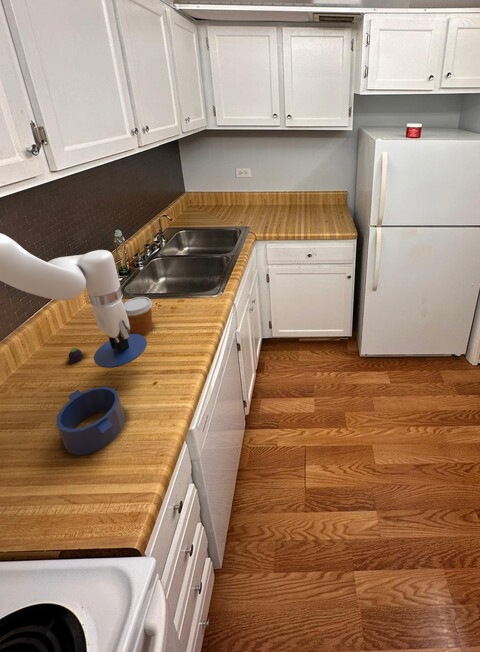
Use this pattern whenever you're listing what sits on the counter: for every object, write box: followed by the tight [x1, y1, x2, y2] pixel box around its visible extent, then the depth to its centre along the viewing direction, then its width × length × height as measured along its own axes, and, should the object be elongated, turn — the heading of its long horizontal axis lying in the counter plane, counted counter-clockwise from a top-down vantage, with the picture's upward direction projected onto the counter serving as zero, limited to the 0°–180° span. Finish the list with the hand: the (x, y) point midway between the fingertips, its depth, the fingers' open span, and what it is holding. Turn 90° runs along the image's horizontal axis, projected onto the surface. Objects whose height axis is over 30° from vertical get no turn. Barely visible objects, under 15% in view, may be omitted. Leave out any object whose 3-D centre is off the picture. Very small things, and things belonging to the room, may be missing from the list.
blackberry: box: [68, 347, 84, 364], centre depth 105 cm, size 3×3×5 cm
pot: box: [55, 386, 126, 456], centre depth 82 cm, size 13×18×8 cm
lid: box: [93, 333, 148, 369], centre depth 96 cm, size 14×14×6 cm
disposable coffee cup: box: [123, 296, 153, 336], centre depth 117 cm, size 10×10×12 cm
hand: (120, 347), depth 97 cm, fingers closed on lid, 2 cm apart
